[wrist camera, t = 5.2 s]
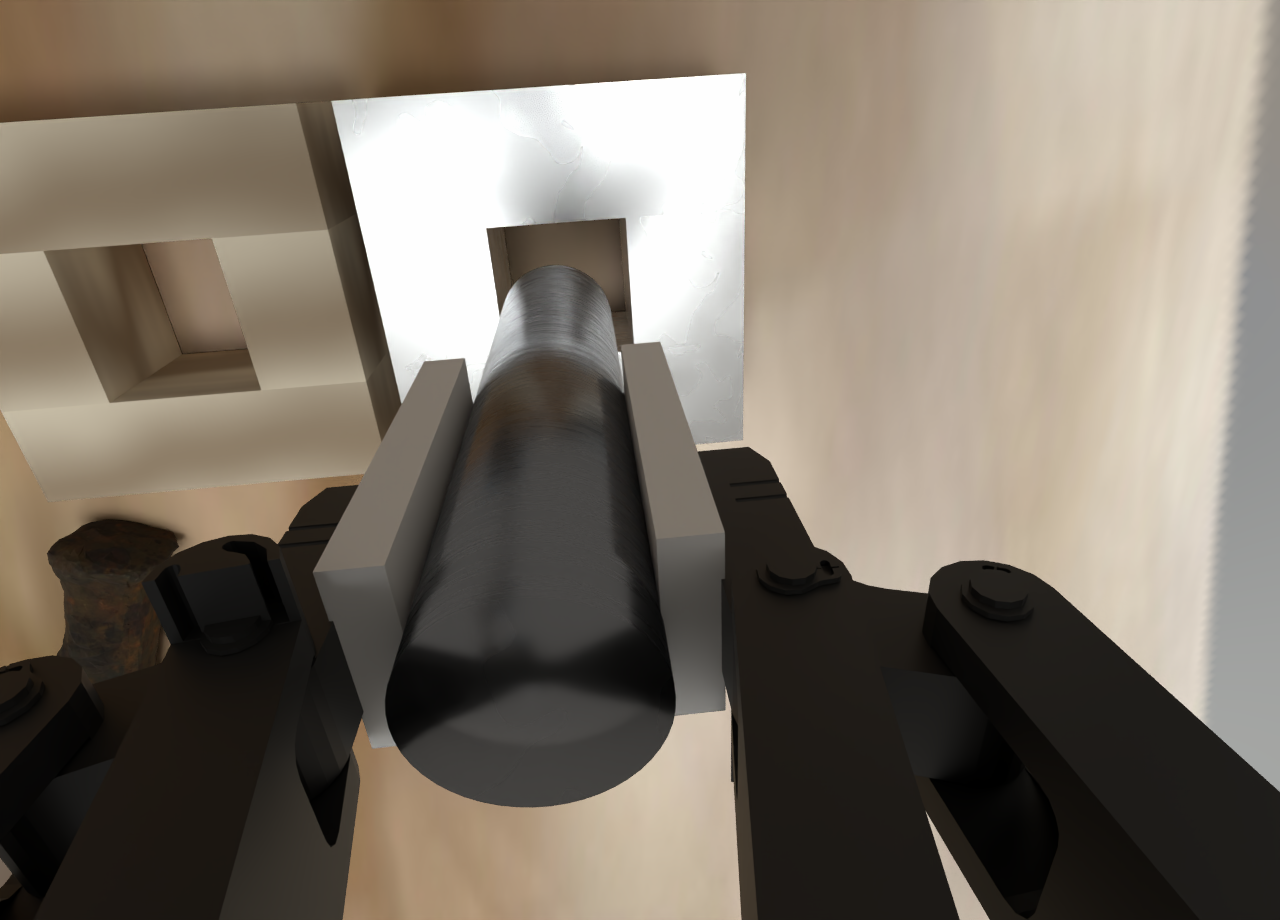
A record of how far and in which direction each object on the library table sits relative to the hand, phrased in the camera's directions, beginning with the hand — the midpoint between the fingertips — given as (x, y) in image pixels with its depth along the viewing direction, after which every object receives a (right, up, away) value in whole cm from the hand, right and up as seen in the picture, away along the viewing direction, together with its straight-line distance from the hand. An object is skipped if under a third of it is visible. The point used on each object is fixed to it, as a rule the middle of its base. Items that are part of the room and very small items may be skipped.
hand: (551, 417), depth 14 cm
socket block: (-1, +7, +14) cm, 16 cm away
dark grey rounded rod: (-1, +3, +6) cm, 7 cm away
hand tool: (-23, -11, +22) cm, 34 cm away
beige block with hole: (-14, +6, +13) cm, 20 cm away
